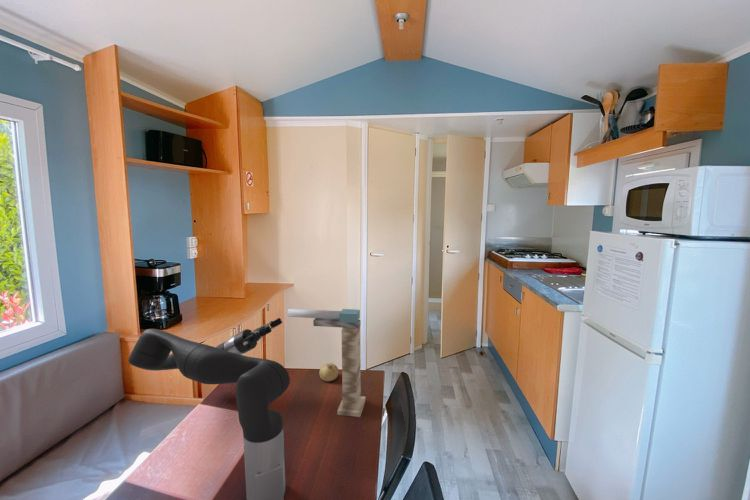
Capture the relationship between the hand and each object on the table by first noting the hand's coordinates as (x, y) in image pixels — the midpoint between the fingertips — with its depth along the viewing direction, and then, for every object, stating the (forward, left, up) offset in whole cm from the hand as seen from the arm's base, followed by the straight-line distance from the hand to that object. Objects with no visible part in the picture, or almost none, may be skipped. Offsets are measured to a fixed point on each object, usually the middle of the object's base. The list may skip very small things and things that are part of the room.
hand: (275, 324), depth 120 cm
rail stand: (-15, -18, -29) cm, 37 cm away
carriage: (-11, -14, +3) cm, 18 cm away
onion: (+5, -22, -30) cm, 37 cm away
